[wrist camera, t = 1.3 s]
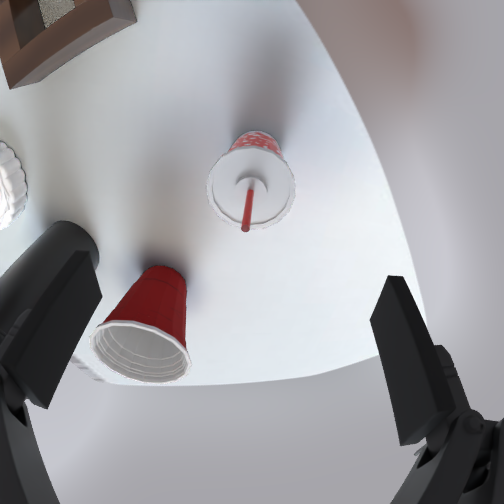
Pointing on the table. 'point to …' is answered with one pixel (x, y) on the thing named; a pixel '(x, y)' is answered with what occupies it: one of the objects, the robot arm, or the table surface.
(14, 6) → the holder
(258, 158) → the beverage cup
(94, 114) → the table surface
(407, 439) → the robot arm
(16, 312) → the water bottle
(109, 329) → the plastic cup
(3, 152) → the mooncake
